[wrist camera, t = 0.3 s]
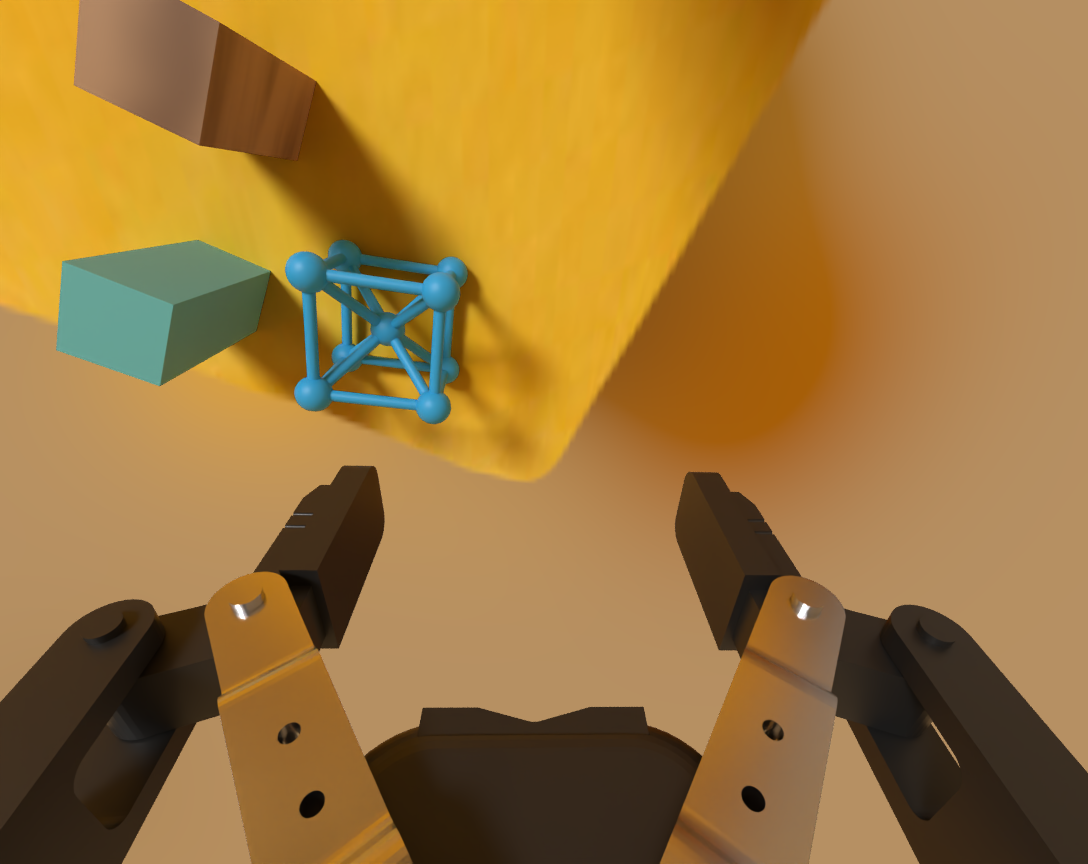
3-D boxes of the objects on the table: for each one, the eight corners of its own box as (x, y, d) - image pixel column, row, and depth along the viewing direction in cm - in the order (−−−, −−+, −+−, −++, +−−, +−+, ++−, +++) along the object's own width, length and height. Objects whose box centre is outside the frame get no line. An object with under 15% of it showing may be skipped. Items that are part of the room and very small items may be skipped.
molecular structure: (459, 379, 41) (448, 431, 32) (337, 364, 39) (289, 415, 30) (470, 257, 36) (460, 278, 28) (333, 235, 35) (276, 250, 26)
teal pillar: (186, 303, 36) (56, 350, 25) (198, 239, 34) (62, 261, 24) (256, 331, 37) (159, 386, 27) (270, 271, 36) (173, 304, 25)
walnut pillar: (218, 121, 31) (73, 85, 21) (233, 36, 29) (83, -53, 19) (297, 160, 33) (199, 145, 22) (316, 81, 31) (219, 22, 20)
